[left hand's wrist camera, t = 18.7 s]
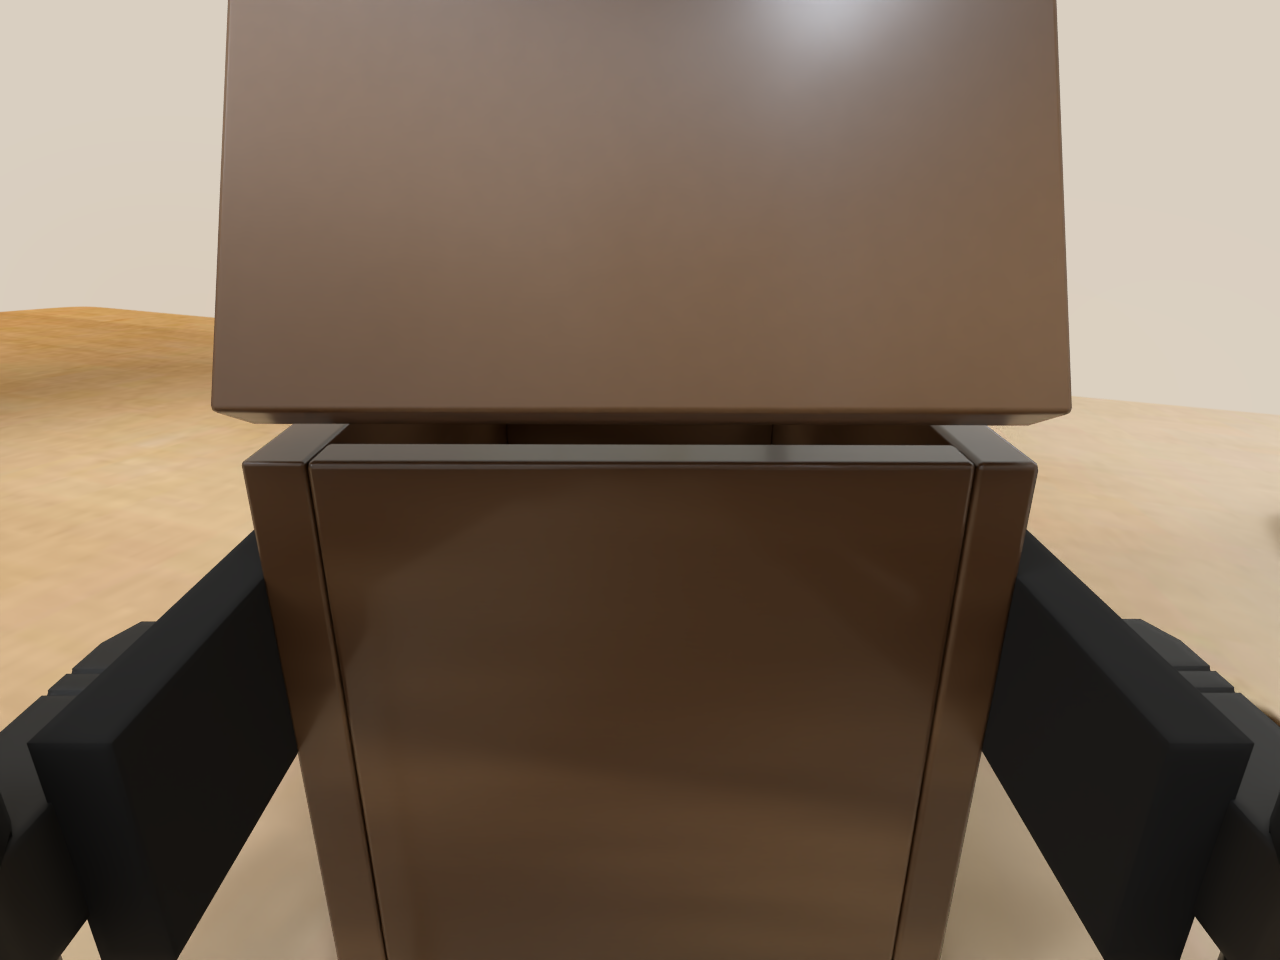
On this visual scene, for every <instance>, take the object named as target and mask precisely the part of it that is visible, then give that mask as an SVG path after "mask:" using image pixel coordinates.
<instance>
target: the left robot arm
mask: <svg viewBox="0 0 1280 960" xmlns="http://www.w3.org/2000/svg"><path fill="white" fill-rule="evenodd" d="M982 752H983V754H984V755H985V757H986V759H987V760H988V762H989V764H990V765H991V767H992V769H993V771H994V772H995V774H996V776H997V777H998V779H999V781H1000V783H1001V784H1002V786H1003V788H1004V789H1005V791H1006V793H1007V795H1008V796H1009V798H1010V800H1011V801H1012V803H1013V805H1014V807H1015V808H1016V810H1017V812H1018V813H1019V815H1020V817H1021V818H1022V820H1023V822H1024V824H1025V825H1026V827H1027V829H1028V830H1029V832H1030V834H1031V836H1032V837H1033V839H1034V841H1035V842H1036V844H1037V846H1038V848H1039V849H1040V851H1041V853H1042V854H1043V856H1044V858H1045V860H1046V861H1047V863H1048V865H1049V866H1050V868H1051V870H1052V871H1053V873H1054V875H1055V877H1056V878H1057V880H1058V882H1059V883H1060V885H1061V887H1062V889H1063V890H1064V892H1065V894H1066V895H1067V897H1068V899H1069V901H1070V902H1071V904H1072V906H1073V907H1074V909H1075V911H1076V913H1077V914H1078V916H1079V918H1080V919H1081V921H1082V923H1083V924H1084V926H1085V928H1086V930H1087V931H1088V933H1089V935H1090V936H1091V938H1092V940H1093V942H1094V943H1095V945H1096V947H1097V948H1098V950H1099V952H1100V954H1101V955H1102V957H1103V959H1104V960H1180V958H1181V955H1182V952H1183V949H1184V946H1185V943H1186V940H1187V938H1188V935H1189V932H1190V929H1191V926H1192V923H1193V920H1194V917H1196V918H1197V920H1198V921H1199V922H1200V924H1201V925H1202V926H1203V928H1204V929H1205V931H1206V932H1207V933H1208V935H1209V936H1210V937H1211V939H1212V940H1213V941H1214V943H1215V944H1216V945H1217V947H1218V948H1219V949H1220V951H1221V952H1220V954H1219V957H1218V960H1280V727H1279V726H1278V725H1277V724H1275V723H1274V722H1273V721H1272V720H1271V719H1270V718H1269V717H1267V716H1266V715H1265V714H1264V713H1263V712H1262V711H1261V710H1259V709H1258V708H1257V707H1256V706H1255V705H1254V704H1253V703H1251V702H1250V701H1249V700H1248V699H1247V698H1246V697H1245V696H1243V695H1242V694H1241V693H1235V692H1234V687H1233V686H1232V685H1231V684H1230V683H1229V682H1227V681H1226V680H1225V679H1224V678H1223V677H1222V676H1221V675H1219V674H1218V673H1217V672H1216V671H1210V666H1209V665H1208V664H1207V663H1206V662H1205V661H1203V660H1202V659H1201V658H1200V657H1199V656H1198V655H1197V654H1195V653H1194V652H1193V651H1192V650H1191V649H1190V648H1189V647H1187V646H1186V645H1185V644H1184V643H1183V642H1182V641H1181V640H1179V639H1177V638H1175V637H1173V636H1171V635H1169V634H1167V633H1166V632H1164V631H1162V630H1160V629H1158V628H1156V627H1154V626H1153V625H1151V624H1149V623H1147V622H1145V621H1143V620H1141V619H1121V618H1120V617H1119V616H1118V615H1117V614H1116V613H1115V612H1114V611H1113V610H1112V609H1111V608H1110V607H1109V606H1108V605H1107V604H1105V603H1104V602H1103V601H1102V600H1101V599H1100V598H1099V597H1098V596H1097V595H1096V594H1095V593H1094V592H1093V591H1092V590H1091V589H1089V588H1088V587H1087V586H1086V585H1085V584H1084V583H1083V582H1082V581H1081V580H1080V579H1079V578H1078V577H1077V576H1076V575H1075V574H1073V573H1072V572H1071V571H1070V570H1069V569H1068V568H1067V567H1066V566H1065V565H1064V564H1063V563H1062V562H1061V561H1060V560H1059V559H1057V558H1056V557H1055V556H1054V555H1053V554H1052V553H1051V552H1050V551H1049V550H1048V549H1047V548H1046V547H1045V546H1044V545H1043V544H1041V543H1040V542H1039V541H1038V540H1037V539H1036V538H1035V537H1034V536H1033V535H1032V534H1031V533H1030V532H1029V531H1028V530H1027V529H1026V533H1025V538H1024V543H1023V548H1022V553H1021V558H1020V563H1019V568H1018V573H1017V577H1016V582H1015V587H1014V592H1013V597H1012V602H1011V607H1010V612H1009V617H1008V622H1007V627H1006V632H1005V637H1004V642H1003V648H1002V653H1001V658H1000V663H999V668H998V673H997V677H996V682H995V687H994V692H993V697H992V702H991V707H990V712H989V717H988V722H987V727H986V732H985V737H984V742H983V747H982ZM297 753H298V749H297V744H296V739H295V734H294V729H293V724H292V719H291V713H290V708H289V703H288V698H287V693H286V688H285V683H284V678H283V673H282V668H281V663H280V658H279V653H278V647H277V642H276V637H275V632H274V627H273V622H272V617H271V612H270V607H269V602H268V597H267V592H266V587H265V581H264V576H263V571H262V566H261V561H260V556H259V551H258V545H257V540H256V535H255V530H253V531H252V532H251V533H250V534H249V535H248V536H247V537H246V538H245V539H244V540H243V541H242V542H241V543H239V544H238V545H237V546H236V547H235V548H234V549H233V550H232V551H231V552H230V553H229V554H228V555H227V556H226V557H225V558H223V559H222V560H221V561H220V562H219V563H218V564H217V565H216V566H215V567H214V568H213V569H212V570H211V571H210V572H209V573H207V574H206V575H205V576H204V577H203V578H202V579H201V580H200V581H199V582H198V583H197V584H196V585H195V586H194V587H193V588H192V589H190V590H189V591H188V592H187V593H186V594H185V595H184V596H183V597H182V598H181V599H180V600H179V601H178V602H177V603H176V604H174V605H173V606H172V607H171V608H170V609H169V610H168V611H167V612H166V613H165V614H164V615H163V616H162V617H161V618H160V619H158V620H157V621H156V622H140V623H138V624H136V625H134V626H132V627H130V628H129V629H127V630H125V631H123V632H121V633H119V634H117V635H116V636H114V637H112V638H110V639H108V640H106V641H104V642H103V643H101V644H100V645H99V646H98V647H96V648H95V649H94V650H93V651H92V652H91V653H90V654H88V655H87V656H86V657H85V658H84V659H83V660H82V661H81V662H79V663H78V664H77V665H76V666H75V667H74V668H73V669H72V674H66V675H65V676H64V677H62V678H61V679H60V680H59V681H58V682H57V683H56V684H54V685H53V686H52V687H51V688H50V689H49V690H48V695H47V696H41V697H40V698H39V699H37V700H36V701H35V702H34V703H33V704H32V705H31V706H30V707H28V708H27V709H26V710H25V711H24V712H23V713H22V714H20V715H19V716H18V717H17V718H16V719H15V720H14V721H13V722H11V723H10V724H9V725H8V726H7V727H6V728H5V729H3V730H2V731H1V732H0V960H62V957H61V954H62V953H63V951H64V950H65V949H66V947H67V946H68V945H69V943H70V942H71V940H72V939H73V938H74V936H75V935H76V934H77V932H78V931H79V930H80V928H81V927H82V925H83V924H84V923H85V921H86V920H88V923H89V925H90V928H91V931H92V934H93V937H94V940H95V943H96V946H97V949H98V952H99V954H100V957H101V960H177V959H178V957H179V955H180V953H181V952H182V950H183V948H184V947H185V945H186V943H187V941H188V940H189V938H190V936H191V935H192V933H193V931H194V929H195V928H196V926H197V924H198V923H199V921H200V919H201V917H202V916H203V914H204V912H205V911H206V909H207V907H208V906H209V904H210V902H211V900H212V899H213V897H214V895H215V894H216V892H217V890H218V888H219V887H220V885H221V883H222V882H223V880H224V878H225V876H226V875H227V873H228V871H229V870H230V868H231V866H232V864H233V863H234V861H235V859H236V858H237V856H238V854H239V852H240V851H241V849H242V847H243V846H244V844H245V842H246V841H247V839H248V837H249V835H250V834H251V832H252V830H253V829H254V827H255V825H256V823H257V822H258V820H259V818H260V817H261V815H262V813H263V811H264V810H265V808H266V806H267V805H268V803H269V801H270V799H271V798H272V796H273V794H274V793H275V791H276V789H277V787H278V786H279V784H280V782H281V781H282V779H283V777H284V776H285V774H286V772H287V770H288V769H289V767H290V765H291V764H292V762H293V760H294V758H295V757H296V755H297Z"/></svg>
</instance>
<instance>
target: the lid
mask: <svg viewBox="0 0 1280 960" xmlns="http://www.w3.org/2000/svg"><path fill="white" fill-rule="evenodd" d="M211 407H212V410H213V411H215V412H217V413H220V414H224V415H227V416H230V417H234V418H237V419H240V420H244V421H247V422H250V423H254V424H606V425H1031V424H1035V423H1038V422H1042V421H1045V420H1049V419H1052V418H1056V417H1059V416H1062V415H1066V414H1068V413H1070V411H1071V408H1072V402H1071V376H1070V350H1069V323H1068V297H1067V270H1066V244H1065V218H1064V191H1063V165H1062V138H1061V111H1060V85H1059V59H1058V32H1057V6H1056V0H228V14H227V39H226V62H225V87H224V111H223V134H222V159H221V182H220V207H219V230H218V254H217V279H216V302H215V326H214V350H213V374H212V398H211Z"/></svg>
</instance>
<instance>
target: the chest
mask: <svg viewBox="0 0 1280 960" xmlns="http://www.w3.org/2000/svg"><path fill="white" fill-rule="evenodd" d="M242 468H243V474H244V479H245V484H246V489H247V494H248V499H249V504H250V510H251V515H252V520H253V525H254V530H255V535H256V540H257V545H258V551H259V556H260V561H261V566H262V571H263V576H264V581H265V587H266V592H267V597H268V602H269V607H270V612H271V617H272V622H273V627H274V632H275V637H276V642H277V647H278V653H279V658H280V663H281V668H282V673H283V678H284V683H285V688H286V693H287V698H288V703H289V708H290V713H291V719H292V724H293V729H294V734H295V739H296V744H297V749H298V756H299V761H300V766H301V772H302V777H303V782H304V787H305V792H306V797H307V802H308V808H309V813H310V818H311V823H312V828H313V833H314V838H315V844H316V849H317V854H318V859H319V864H320V869H321V874H322V880H323V885H324V890H325V895H326V900H327V905H328V910H329V916H330V921H331V926H332V931H333V936H334V941H335V946H336V951H337V957H338V960H940V956H941V951H942V946H943V941H944V936H945V931H946V926H947V921H948V916H949V911H950V906H951V901H952V896H953V891H954V886H955V881H956V876H957V872H958V867H959V862H960V857H961V852H962V847H963V842H964V837H965V832H966V827H967V822H968V817H969V812H970V807H971V802H972V797H973V792H974V787H975V782H976V777H977V772H978V767H979V762H980V757H981V752H982V747H983V742H984V737H985V732H986V727H987V722H988V717H989V712H990V707H991V702H992V697H993V692H994V687H995V682H996V677H997V673H998V668H999V663H1000V658H1001V653H1002V648H1003V642H1004V637H1005V632H1006V627H1007V622H1008V617H1009V612H1010V607H1011V602H1012V597H1013V592H1014V587H1015V582H1016V577H1017V573H1018V568H1019V563H1020V558H1021V553H1022V548H1023V543H1024V538H1025V533H1026V528H1027V523H1028V518H1029V513H1030V508H1031V503H1032V498H1033V493H1034V488H1035V483H1036V478H1037V473H1038V467H1037V464H1036V463H1035V462H1034V461H1033V460H1031V459H1030V458H1029V457H1027V456H1026V455H1025V454H1023V453H1022V452H1021V451H1019V450H1018V449H1017V448H1015V447H1014V446H1013V445H1011V444H1010V443H1009V442H1007V441H1006V440H1005V439H1003V438H1002V437H1001V436H1000V435H998V434H997V433H996V432H994V431H993V430H992V429H990V428H989V427H988V426H986V425H606V424H293V425H291V426H290V427H289V428H287V429H286V430H285V431H283V432H282V433H281V434H279V435H278V436H277V437H275V438H274V439H273V440H271V441H270V442H269V443H267V444H266V445H265V446H263V447H262V448H261V449H259V450H258V451H257V452H255V453H254V454H253V455H252V456H250V457H249V458H248V459H246V460H245V461H244V462H243V463H242Z"/></svg>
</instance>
